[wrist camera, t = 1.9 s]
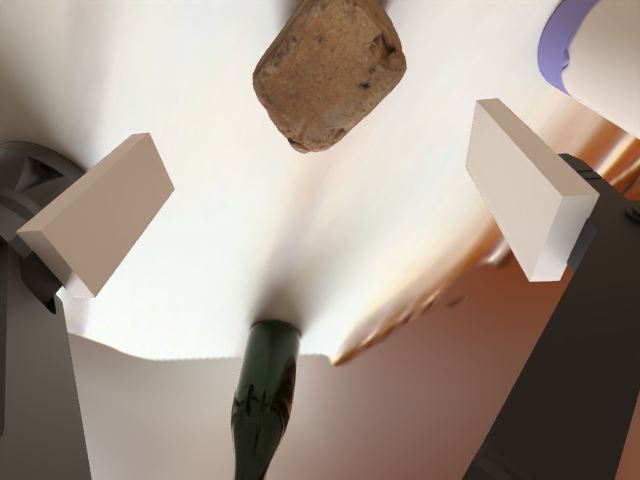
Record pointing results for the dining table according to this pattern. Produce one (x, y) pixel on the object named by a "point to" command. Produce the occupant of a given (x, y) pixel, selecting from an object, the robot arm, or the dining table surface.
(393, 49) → the block
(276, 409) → the beer bottle
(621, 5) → the container
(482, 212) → the dining table surface
